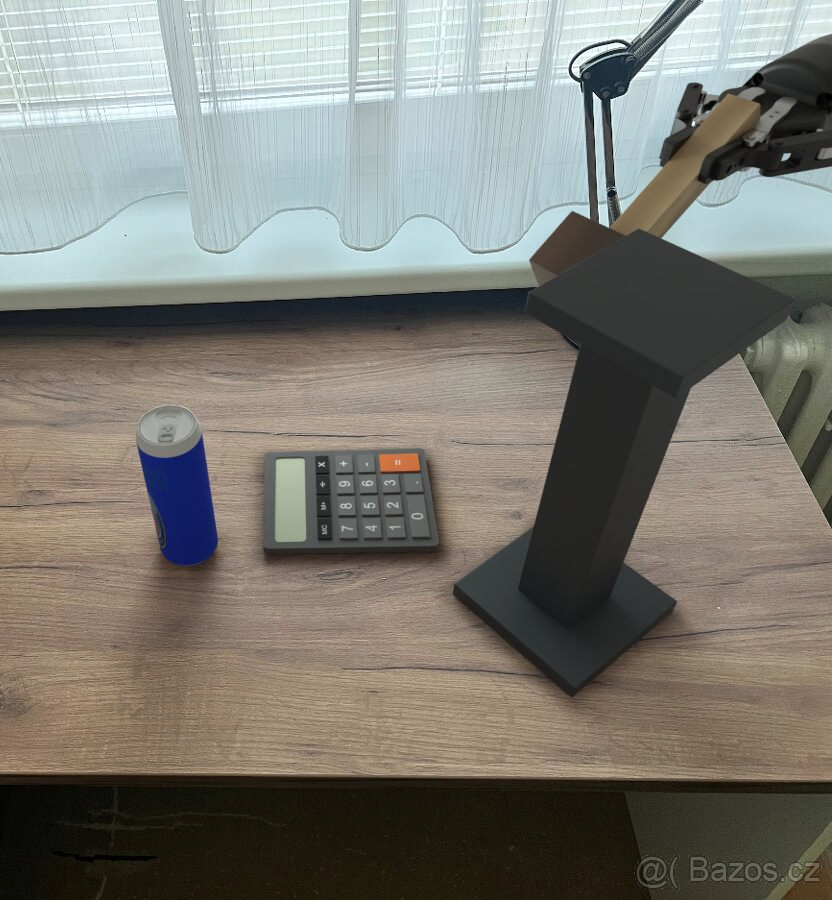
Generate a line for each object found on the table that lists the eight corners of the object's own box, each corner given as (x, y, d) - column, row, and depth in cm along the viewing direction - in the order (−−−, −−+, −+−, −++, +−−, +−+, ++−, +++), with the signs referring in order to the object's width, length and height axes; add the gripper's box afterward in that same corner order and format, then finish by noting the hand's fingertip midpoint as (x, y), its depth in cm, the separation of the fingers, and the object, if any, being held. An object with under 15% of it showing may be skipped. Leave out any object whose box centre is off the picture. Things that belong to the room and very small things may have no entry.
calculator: (439, 544, 74) (262, 547, 75) (438, 551, 75) (263, 553, 76) (424, 446, 82) (265, 450, 84) (423, 453, 83) (265, 457, 84)
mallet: (794, 138, 65) (797, 101, 62) (622, 332, 66) (616, 305, 63) (697, 105, 70) (695, 69, 67) (538, 286, 71) (528, 259, 68)
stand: (672, 612, 69) (824, 299, 48) (571, 698, 65) (689, 396, 43) (550, 522, 76) (635, 215, 55) (452, 594, 72) (502, 291, 51)
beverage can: (163, 525, 80) (137, 403, 69) (219, 523, 79) (202, 400, 68) (158, 570, 76) (129, 449, 65) (217, 569, 75) (198, 447, 65)
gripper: (750, 21, 73) (617, 86, 67) (927, 68, 65) (794, 147, 59) (722, 108, 79) (596, 176, 72) (882, 162, 70) (755, 244, 64)
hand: (685, 163), depth 66 cm, fingers closed on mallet, 2 cm apart
